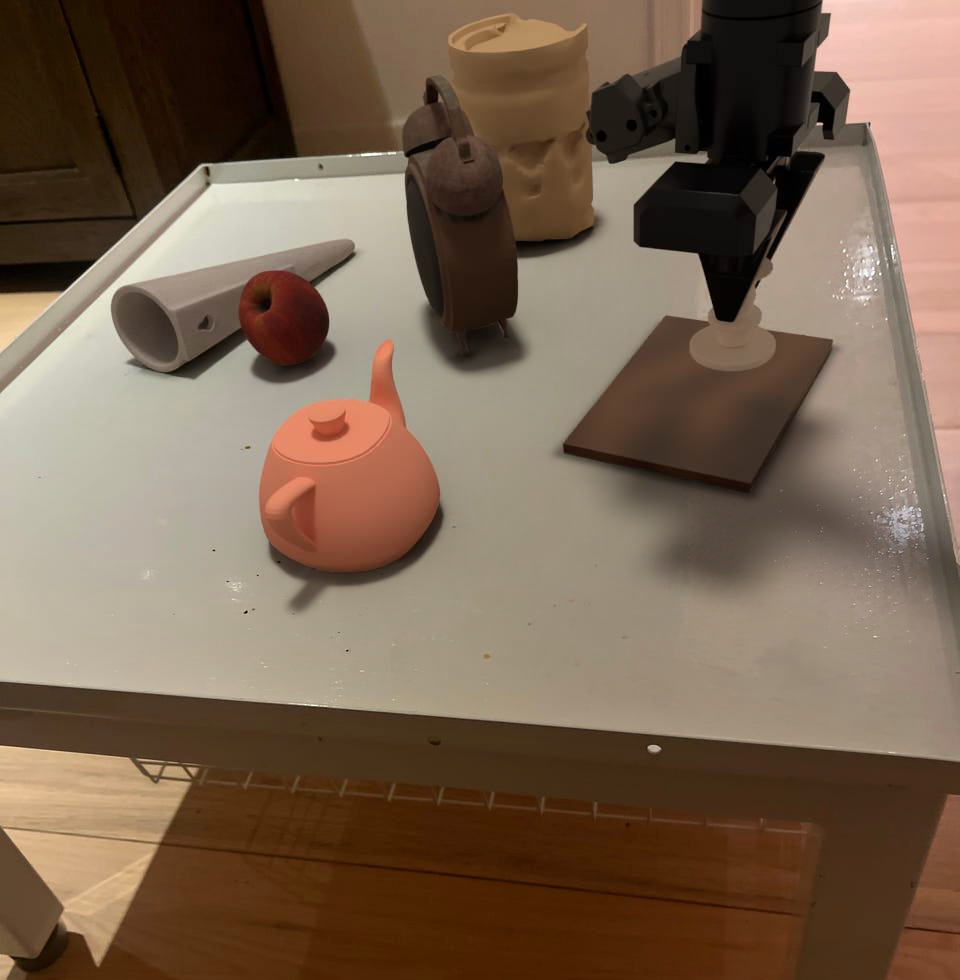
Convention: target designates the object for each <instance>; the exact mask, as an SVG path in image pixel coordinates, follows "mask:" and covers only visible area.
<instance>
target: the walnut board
mask: <svg viewBox="0 0 960 980" xmlns="http://www.w3.org/2000/svg"><path fill="white" fill-rule="evenodd" d="M708 326H711V325H710V324H709V322H708V320H702V319H694V318H688V317H683V316H682V317H681V316H674V315H668V314H667V315H664V316H663V318H662V319H661V320H660V321H659V323H658V324H657V326H656V327H654V329H653V330H652V332H651V333H650V334H649V336H648V337H647V338H646V339H645V340H644V341H643V343H642V344H641V345H640V347H639V348H638V349H637V350H636V352H635V353H634V354H633V355H632V357H631V358H630V359H629V360H628V362H627V363H626V364H625V365H624V367H623V368H622V369H621V370H620V371H619V373H618V374H617V375H616V376H615V378H614V379H613V380H612V382H611V383H610V384H609V385H608V386H607V388H605V390H604V392H603V393H602V394H601V395H600V397H599V398H598V399H597V401H596V402H595V403H594V404H593V405H592V407H590V409H589V410H588V411H587V413H586V414H584V416H583V418H582V419H581V420H580V421H579V423H578V424H577V425H576V427H575V428H574V429H573V430H572V431H571V433H570V434H569V435H568V436H567V438H566V439H565V440H564V442H562V450H563V453H565V454H570V455H574V456H577V457H578V456H579V457H583V458H587V459H593V460H596V461H602V462H606V463H611V464H615V465H621V466H624V467H630V468H633V469H639V470H644V471H647V472H651V473H652V472H653V473H657V474H662V475H665V476H670V477H675V478H679V479H685V480H689V481H694V482H699V483H702V484H707V485H712V486H716V487H721V488H726V489H731V490H735V491H739V492H744V493H748V494H750V493H751V491H752V490H753V488H754V486H755V484H756V482H757V480H758V478H759V477H760V475H761V474H762V472H763V470H764V468H765V467H766V465H767V464H768V462H769V459H770V458H771V456H772V454H773V453H774V451H775V449H776V447H777V446H778V444H779V442H780V440H781V438H782V437H783V436H784V433H785V431H786V430H787V428H788V426H789V425H790V422H791V421H792V419H793V418H794V416H795V414H796V413H797V410H798V408H799V407H800V405H801V403H802V402H803V400H804V398H805V397H806V395H807V393H808V391H809V390H810V388H811V386H812V384H813V382H814V380H815V379H816V377H817V375H818V373H819V372H820V370H821V368H822V366H823V365H824V363H825V361H826V360H827V358H828V356H829V354H830V352H831V351H832V350H833V349H832V348H833V343H834V339H832V338H826V337H820V336H819V337H818V336H811V335H805V334H798V333H791V332H785V331H778V330H772V329H771V330H770V329H766V330H767V331H768V332H769V333H771V334H772V335H773V337H774V339H775V340H776V348H775V353H774V355H773V357H772V358H771V359H770V360H768V361H767V362H766V363H765V364H763V365H761V366H759V367H756V368H753V369H749V370H744V371H719V370H714V369H710V368H707V367H705V366H703V365H701V364H699V363H697V362H696V361H695V360H694V359H693V358H692V356H691V354H690V352H689V350H690V340H691V339H692V337H693V335H695V334H696V333H697V332H698V331H700V330H701V329H703V328H705V327H708Z"/></svg>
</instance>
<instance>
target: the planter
mask: <svg viewBox="0 0 960 980" xmlns="http://www.w3.org/2000/svg"><path fill="white" fill-rule="evenodd" d="M355 249H356V244H355V242H354V240H352V239H349V238H340V239H334V240H327V241H323V242H318V243H313V244H309V245H305V246H300V247H294V248H291V249H287V250H281V251H277V252H272V253H268V254H262V255H259V256H254V257H250V258H245V259H241V260H236V261H232V262H227V263H221V264H217V265H213V266H208V267H204V268H199V269H194V270H190V271H185V272H181V273H176V274H172V275H166V276H160V277H156V278H152V279H147V280H143V281H139V282H134V283H130V284H125V285H122V286H119V288H118V289H116V291H115V292H114V293H113V295H112V297H111V301H110V315H111V319H112V324H113V326H114V329H115V331H116V334H117V336H118V337H119V340H120V341H121V342H122V344H123V345H124V347H125V348H126V349H127V351H128V352H129V353H130V354H131V355H132V356H133V357H134V358H135V359H136V361H138V362H140V363H141V364H142V365H144V366H145V367H147V368H149V369H151V370H153V371H155V372H161V373H170V372H173V371H175V370H176V369H178V368H180V367H182V366H183V365H185V364H186V363H188V362H191V361H193V359H195V358H197V357H198V356H199V355H201V354H203V353H204V352H206V351H207V350H208V349H211V348H212V347H214V346H215V345H217V344H218V343H220V342H221V341H223V340H224V339H226V338H228V337H229V336H230V335H232V334H233V333H235V332H236V331H238V330H239V329H242V328H241V325H240V320H239V303H240V299H241V295H242V292H243V289H244V287H245V285H246V284H247V282H248V281H249V280H250V279H251V278H252V277H253V276H255V275H257V274H258V273H261V272H264V271H271V270H281V271H288V272H291V273H294V274H296V275H298V276H300V277H302V278H304V279H305V280H307V281H308V282H309V283H311V282H312V281H313V280H315V279H316V278H318V277H319V276H321V275H323V274H324V273H325V272H327V271H329V270H330V269H331V268H333V267H335V266H337V265H338V264H340V263H342V262H343V261H344V260H345V259H347V258H348V257H349V256H350V255H351V254H352V253H353V252H354V251H355Z"/></svg>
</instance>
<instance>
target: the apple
mask: <svg viewBox="0 0 960 980" xmlns="http://www.w3.org/2000/svg"><path fill="white" fill-rule="evenodd" d="M239 320H240V325H241V328H240V329H241V331H242V333H243V334H244V336H245V338H246V340H247V342H248V343H249V344H250V345H251V347H252V348H253V349H254V350H255V351H256V352H257V353H258V354H259V355H261V356H262V357H263V358H264V359H266V360H268V361H270V362H272V363H275V364H278V365H282V366H295V365H299V364H302V363H304V362H306V361H308V360H309V359H311V358H312V357H314V356H315V355H316V354H317V353H318V352H319V351H320V349H321V348H322V346H323V345H324V343H325V342H326V340H327V338H328V335H329V330H330V314H329V310H328V307H327V304H326V302H325V300H324V299H323V296H322V295H321V293H320V292H319V290H317V288H316V287H315V286H314V285H313V284H312V283H311V282H308V281H307V280H305V279H304V278H302V277H300V276H298V275H296V274H294V273H291V272H288V271H281V270H271V271H264V272H261V273H258V274H257V275H255V276H253V277H252V278H251V279H250V280H249V281H248V282H247V284H246V285H245V287H244V289H243V292H242V295H241V299H240V303H239Z"/></svg>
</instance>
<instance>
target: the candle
mask: <svg viewBox="0 0 960 980" xmlns="http://www.w3.org/2000/svg"><path fill="white" fill-rule="evenodd" d="M773 270H774V263H773V262H772V260H771V261H770V260H769V259H768V258H765V260H764V262H763V264H762V266H761V268H760V270H759V272H758V275H757V277H756V279H755V281H754V283H753V285H752V287H751V289H750V291H749V293H748V295H747V298H746V300H745V302H744V304H743V306H742V308H741V310H740V312H739V314H738V316H737V318H736V319H735V321H734V322H732V323H731V322H723V321H718V320H717V319H716V317H715V313H714V309H713V307H711V308H710V309H709V311H708V312H707V321H708V322H709V324H710V325H711V326H708V327H705V328H703V329H701V330H700V331H698V332H697V333H696V334H695V335H693V337H692V339H691V340H690V350H689V352H690V354H691V356H692V358H693V359H694V360H695V361H696V362H697V363H699V364H701V365H703V366H705V367H707V368H710V369H714V370H719V371H744V370H749V369H753V368H756V367H759V366H761V365H763V364H765V363H766V362H767V361H768V360H770V359H771V358H772V357H773V355H774V353H775V348H776V340H775V339H774V337H773V335H772V334H771V333H769V332H768V331H767V330H768V329H766V328H764V327H761V326H759V325H760V324H761V322H762V319H763V312H762V310H761V308H760V307H759V306H757V305H756V304H755V300H756V296H757V291H756V290H757V289H756V290H755V284H756V283H757V281H758V280H761V281H762V280H763V279H765V278H767V277H768V276H770V275H771V274H772V272H773Z"/></svg>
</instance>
